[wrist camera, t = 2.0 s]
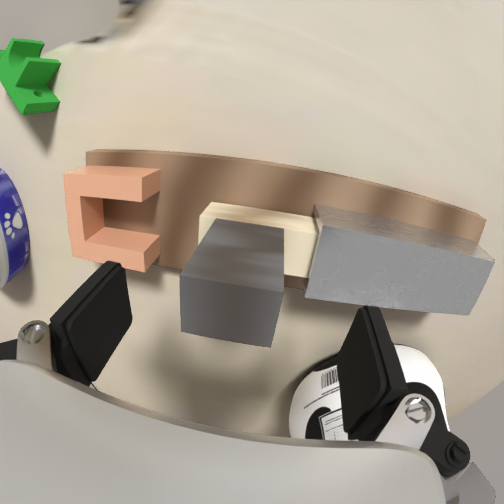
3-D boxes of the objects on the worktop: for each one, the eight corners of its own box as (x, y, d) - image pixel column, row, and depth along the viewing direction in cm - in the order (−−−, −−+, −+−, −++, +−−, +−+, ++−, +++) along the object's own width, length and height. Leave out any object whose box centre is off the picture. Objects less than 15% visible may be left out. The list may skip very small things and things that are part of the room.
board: (477, 213, 18) (486, 219, 17) (443, 298, 23) (449, 307, 21) (96, 149, 20) (85, 152, 18) (101, 245, 24) (93, 252, 22)
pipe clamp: (76, 78, 17) (41, 77, 13) (56, 110, 18) (21, 115, 14) (33, 31, 14) (3, 27, 10) (16, 59, 15) (-14, 59, 11)
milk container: (376, 422, 33) (389, 526, 17) (268, 406, 32) (254, 535, 16) (454, 343, 25) (507, 469, 9) (334, 310, 24) (363, 513, 8)
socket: (160, 168, 19) (141, 177, 16) (160, 253, 22) (144, 272, 19) (86, 165, 19) (63, 173, 16) (92, 241, 22) (73, 256, 19)
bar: (458, 247, 18) (523, 317, 10) (445, 279, 20) (499, 354, 11) (211, 201, 19) (156, 270, 11) (208, 241, 20) (160, 326, 12)
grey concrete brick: (472, 240, 18) (498, 263, 14) (452, 287, 20) (473, 315, 17) (314, 203, 19) (322, 225, 15) (301, 264, 21) (304, 297, 17)
